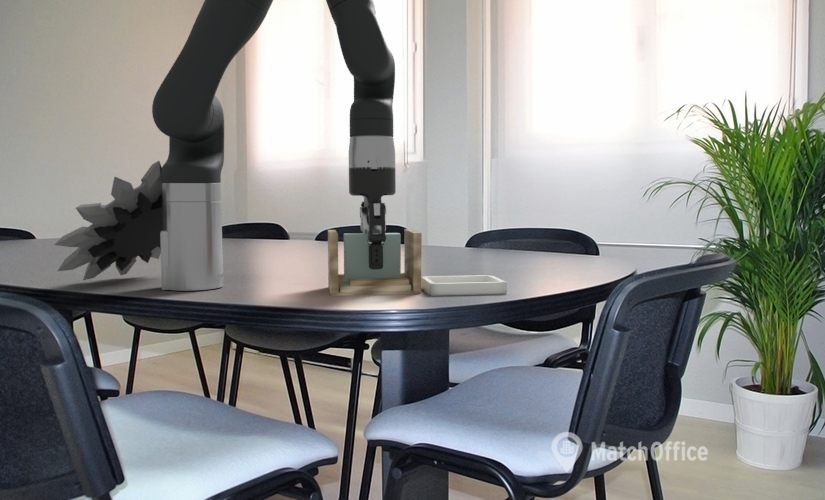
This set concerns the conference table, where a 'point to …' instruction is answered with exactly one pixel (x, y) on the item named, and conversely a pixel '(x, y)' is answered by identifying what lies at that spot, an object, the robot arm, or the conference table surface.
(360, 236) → the sheet
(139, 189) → the decorative piece
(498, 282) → the tray
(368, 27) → the robot arm
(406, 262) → the rack
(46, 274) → the conference table surface
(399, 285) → the offcut stack
